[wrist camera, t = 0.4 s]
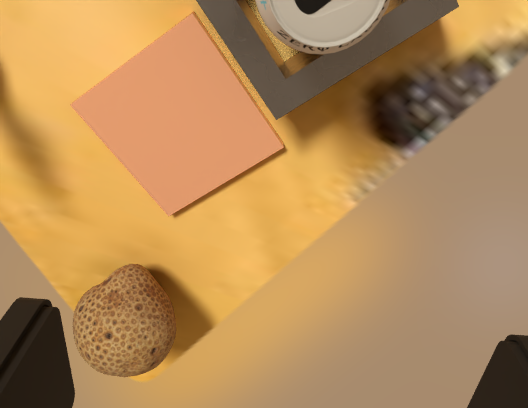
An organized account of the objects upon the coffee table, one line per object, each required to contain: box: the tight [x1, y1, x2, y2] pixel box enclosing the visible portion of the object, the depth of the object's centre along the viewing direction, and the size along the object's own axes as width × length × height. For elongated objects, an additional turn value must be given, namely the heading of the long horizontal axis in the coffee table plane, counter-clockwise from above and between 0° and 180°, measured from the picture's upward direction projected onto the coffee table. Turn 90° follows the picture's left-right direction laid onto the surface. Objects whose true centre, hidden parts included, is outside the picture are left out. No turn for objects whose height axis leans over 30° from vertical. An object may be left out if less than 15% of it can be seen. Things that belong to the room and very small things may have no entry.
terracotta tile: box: [70, 12, 284, 216], centre depth 36 cm, size 12×12×1 cm
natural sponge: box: [73, 264, 176, 377], centre depth 40 cm, size 9×9×10 cm
